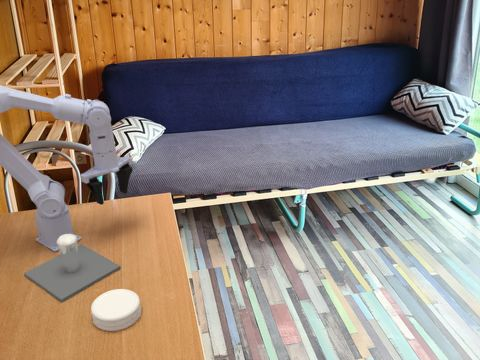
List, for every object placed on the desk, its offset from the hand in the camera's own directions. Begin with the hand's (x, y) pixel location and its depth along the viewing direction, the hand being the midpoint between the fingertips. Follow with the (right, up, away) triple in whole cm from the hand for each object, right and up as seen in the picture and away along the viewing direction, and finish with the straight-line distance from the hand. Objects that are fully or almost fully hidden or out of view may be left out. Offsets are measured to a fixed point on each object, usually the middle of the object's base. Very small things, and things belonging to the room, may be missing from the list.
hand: (112, 197), depth 133 cm
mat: (-6, -17, -12) cm, 22 cm away
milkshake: (-6, -17, -12) cm, 22 cm away
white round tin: (+8, -24, -26) cm, 37 cm away
